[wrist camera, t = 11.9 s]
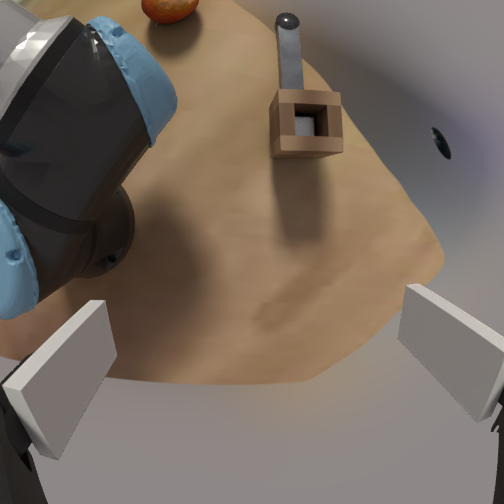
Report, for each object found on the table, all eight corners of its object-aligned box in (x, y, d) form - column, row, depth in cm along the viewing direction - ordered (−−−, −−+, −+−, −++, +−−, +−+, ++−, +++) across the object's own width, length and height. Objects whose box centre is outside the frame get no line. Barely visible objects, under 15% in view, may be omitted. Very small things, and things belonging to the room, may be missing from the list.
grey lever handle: (273, 158, 38) (281, 152, 32) (266, 18, 34) (272, -7, 27) (312, 158, 39) (327, 153, 32) (302, 20, 34) (313, -4, 27)
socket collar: (270, 157, 36) (280, 150, 28) (269, 107, 35) (278, 88, 27) (321, 157, 36) (343, 152, 29) (319, 109, 35) (339, 92, 27)
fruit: (128, 5, 30) (143, -31, 24) (175, 0, 34) (196, -31, 27) (140, 41, 32) (157, 5, 25) (189, 34, 36) (213, 3, 29)
